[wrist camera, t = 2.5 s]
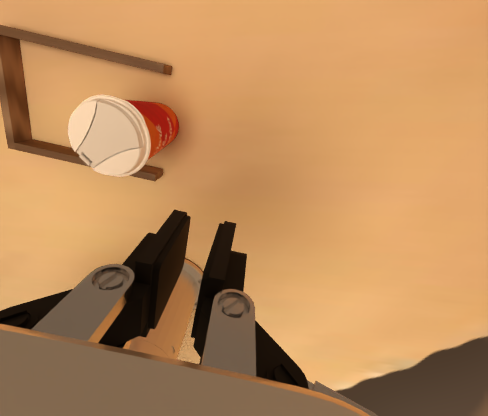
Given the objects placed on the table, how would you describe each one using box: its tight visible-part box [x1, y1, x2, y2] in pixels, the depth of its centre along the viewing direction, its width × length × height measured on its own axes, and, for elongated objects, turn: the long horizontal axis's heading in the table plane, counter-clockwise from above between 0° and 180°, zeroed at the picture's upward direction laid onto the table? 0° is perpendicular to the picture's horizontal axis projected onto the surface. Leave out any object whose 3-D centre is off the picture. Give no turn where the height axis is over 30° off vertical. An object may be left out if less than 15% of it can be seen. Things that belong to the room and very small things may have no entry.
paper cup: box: [68, 95, 179, 177], centre depth 30 cm, size 8×8×14 cm
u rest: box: [0, 25, 172, 181], centre depth 35 cm, size 15×21×3 cm
